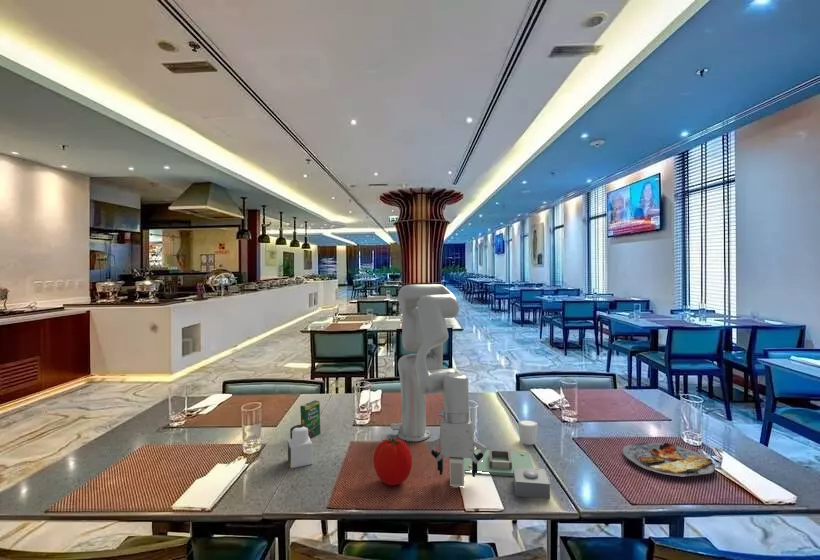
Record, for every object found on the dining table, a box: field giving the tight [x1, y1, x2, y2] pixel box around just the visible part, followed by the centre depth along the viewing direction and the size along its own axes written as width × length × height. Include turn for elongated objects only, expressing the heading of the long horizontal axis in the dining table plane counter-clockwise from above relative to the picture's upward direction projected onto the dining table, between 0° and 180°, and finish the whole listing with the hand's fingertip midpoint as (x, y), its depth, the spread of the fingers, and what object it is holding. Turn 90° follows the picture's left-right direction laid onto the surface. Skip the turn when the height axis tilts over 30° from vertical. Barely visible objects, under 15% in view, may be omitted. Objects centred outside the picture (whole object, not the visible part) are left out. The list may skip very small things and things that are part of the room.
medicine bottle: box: [287, 424, 313, 469], centre depth 135 cm, size 7×7×12 cm
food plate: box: [622, 441, 716, 478], centre depth 130 cm, size 25×23×4 cm
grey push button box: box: [513, 467, 551, 499], centre depth 115 cm, size 9×9×5 cm
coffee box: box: [299, 399, 321, 439], centre depth 158 cm, size 8×3×13 cm, turn 147°
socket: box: [488, 449, 512, 469], centre depth 130 cm, size 7×9×2 cm
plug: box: [449, 457, 466, 488], centre depth 120 cm, size 4×6×8 cm, turn 170°
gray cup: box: [517, 419, 538, 446], centre depth 149 cm, size 7×7×7 cm
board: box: [464, 448, 534, 477], centre depth 132 cm, size 22×16×1 cm
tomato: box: [372, 437, 413, 486], centre depth 120 cm, size 12×12×13 cm
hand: (457, 473), depth 120 cm, fingers open, 9 cm apart
